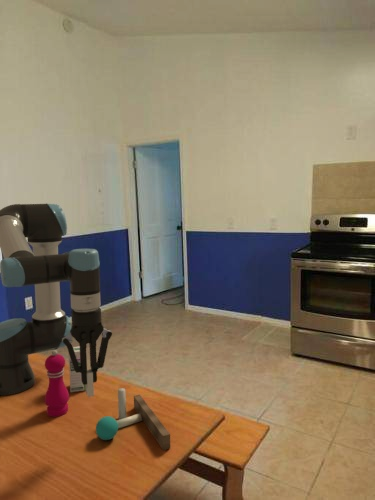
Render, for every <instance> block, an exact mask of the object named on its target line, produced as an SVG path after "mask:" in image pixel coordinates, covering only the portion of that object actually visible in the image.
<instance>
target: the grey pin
mask: <svg viewBox="0 0 375 500" xmlns="http://www.w3.org/2000/svg"><path fill="white" fill-rule="evenodd" d="M117 400H118V402H117V403H118V405H117V406H118V407H117V409H118V420H120V419H123V418H126V417H127V402H126V401H127V400H126V389H125V387H124V388H123V387H121V388H119V389H117Z"/></svg>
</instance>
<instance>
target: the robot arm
mask: <svg viewBox="0 0 375 500" xmlns="http://www.w3.org/2000/svg"><path fill="white" fill-rule="evenodd" d="M67 230H68V225H67V220H66V216H65V212H64V210H63V208H62V207H61V206H60V205H59V204H57V203H56V204H55V203H48V202H47V203H46V202H45V203H24V204H23V203H21V204H20V203H16V204H10V205H7V206H4V207H2V208H1V209H0V251H1V253H2V256H3V259H2V260H0V280H1V284H2V286H3V287H5V288H14V287H16V288H21V287H26V286H33V285H34V295H35V296H34V298H35V311H34V313H33V314H32V315H31V320H30V321H27V320H26V319H25V318H21V317H19V318H10V319H6V320H4V321H1V322H0V396H10V395H16V394H19V393H22V392H24V391H27V390H29V389H30V388H32V387H33V386H34V385H35V383H36V376H35V373H34V371H33V368H32V366H31V363H30V361H29V355H32V354H33V355H35V354H38V353H43V352H48V351H53V350H56V351H57V350H58V349H62V348H65V347H66V348H67V352H68V353H69V355H70V358H71V361H72V364H73V367H74V370H75V372H76V373H78V372H80V373H81V380H82V383H83V385H85V384H86V391H85V393H86V395H87V397H88V398H89V397H94V396H95V393H94V390H95V389H94V383H97V381H98V374H97V372H98V371H99V369H102V368H104V365H105V361H106V356H107V350H108V345H109V340H111V337H112V335H113V333H112V331H111V330H110V329H107V328H104V325H103V324H102V309H101V308H100V307H101V276H100V275H101V274H100V273H101V272H100V263H101V260H100V255H99V251H98V250H97V249H96V248H76V249H72V250H70V251H67V252H63V253H59V245H60V244H61V243H62V242H63V237H64V236H66V235H67V234H68V231H67ZM30 246H31V247H32V248H31V247H30ZM60 282H69V288H70V289H69V290H70V293H69V294H70V308H71V309H72V310H71V311H70V315H71V318H70V317H69V316H68V315H66V312H65V311H64V310H62V308H61V307H62V306H61V305H62V304H61V288H60V285H61V284H60ZM100 336H101V340H100V346H99V351H98V355H97V340H98V339H99V337H100ZM73 339H74V340H75V341H76V342H77V343H78V346H80V366H79V365H78V362H77V359H76V356H75V352H74V349H73V347H74V346H73V345H72V343H73ZM87 345H89V363H90V368H88V364H87V363H88V361H87ZM69 355H68V356H69Z"/></svg>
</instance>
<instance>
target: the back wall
mask: <svg viewBox="0 0 375 500" xmlns="http://www.w3.org/2000/svg"><path fill="white" fill-rule="evenodd" d="M133 408H134V410H135V411H136V414H139V413H140V414H141V416H142V422H143V423H144V424H145V426H146V428H147V429H148V430H149V432H150V434H152V436H153V438H154V439H155V440H156V442H157V444H158V445H159V446H160V448H161V449H162V451H166V450H169V449H171V433H170V432H169V430H168V429H167V428H166V427H165V425H164V424H163V423H162V421H161V420H160V419H159V417H157V415H156V414H155V412H154V411H153V409H152V408H151V407H150V406H149V404H148V403H147V402H146V401H145V400H144V398H143V397H142V395H141V394H136V395H134V396H133Z"/></svg>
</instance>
